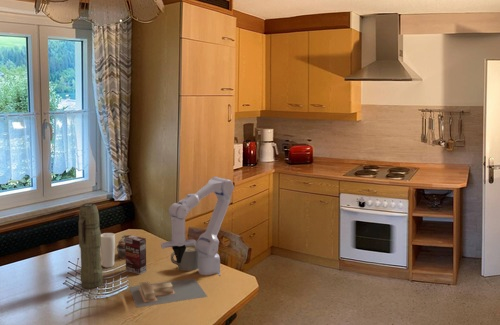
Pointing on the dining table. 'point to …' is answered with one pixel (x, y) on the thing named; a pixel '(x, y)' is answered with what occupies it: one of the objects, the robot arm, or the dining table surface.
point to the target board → (180, 292)
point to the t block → (154, 290)
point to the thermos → (90, 246)
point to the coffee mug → (187, 259)
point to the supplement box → (135, 254)
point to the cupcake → (122, 247)
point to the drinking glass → (108, 249)
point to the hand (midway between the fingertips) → (178, 262)
